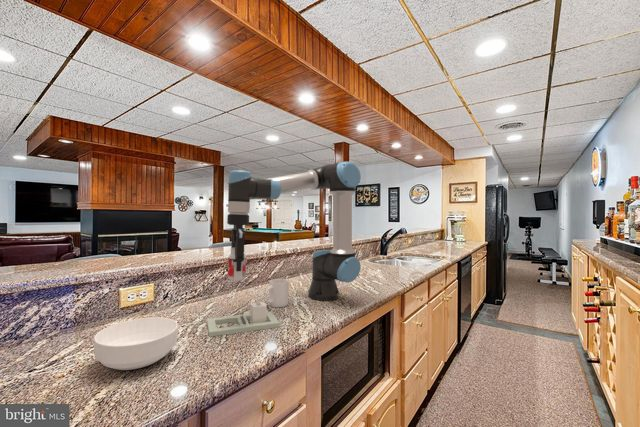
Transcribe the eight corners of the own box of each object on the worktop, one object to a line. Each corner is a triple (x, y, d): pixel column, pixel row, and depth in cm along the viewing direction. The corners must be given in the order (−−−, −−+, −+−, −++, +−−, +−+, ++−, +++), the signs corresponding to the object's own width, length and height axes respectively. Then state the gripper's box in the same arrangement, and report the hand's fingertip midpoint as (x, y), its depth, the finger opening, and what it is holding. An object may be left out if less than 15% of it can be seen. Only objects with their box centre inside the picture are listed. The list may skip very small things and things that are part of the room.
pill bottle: (230, 276, 110) (231, 246, 110) (247, 277, 110) (248, 247, 110) (225, 280, 104) (226, 248, 104) (243, 281, 104) (243, 249, 104)
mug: (258, 306, 130) (259, 281, 130) (279, 300, 139) (280, 277, 139) (271, 311, 124) (271, 285, 124) (292, 304, 133) (292, 281, 133)
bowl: (82, 387, 69) (82, 351, 69) (104, 350, 87) (105, 321, 87) (175, 371, 77) (176, 339, 77) (178, 340, 95) (179, 314, 95)
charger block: (263, 319, 114) (263, 301, 114) (266, 324, 110) (266, 304, 110) (249, 321, 112) (250, 302, 112) (252, 326, 108) (253, 306, 108)
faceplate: (270, 315, 120) (270, 309, 119) (279, 327, 108) (279, 321, 108) (207, 322, 110) (207, 317, 110) (209, 336, 98) (209, 330, 98)
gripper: (224, 213, 114) (222, 273, 114) (231, 213, 96) (229, 285, 96) (244, 213, 117) (242, 272, 117) (254, 214, 100) (252, 283, 100)
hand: (236, 277), depth 107 cm, fingers closed on pill bottle, 6 cm apart
